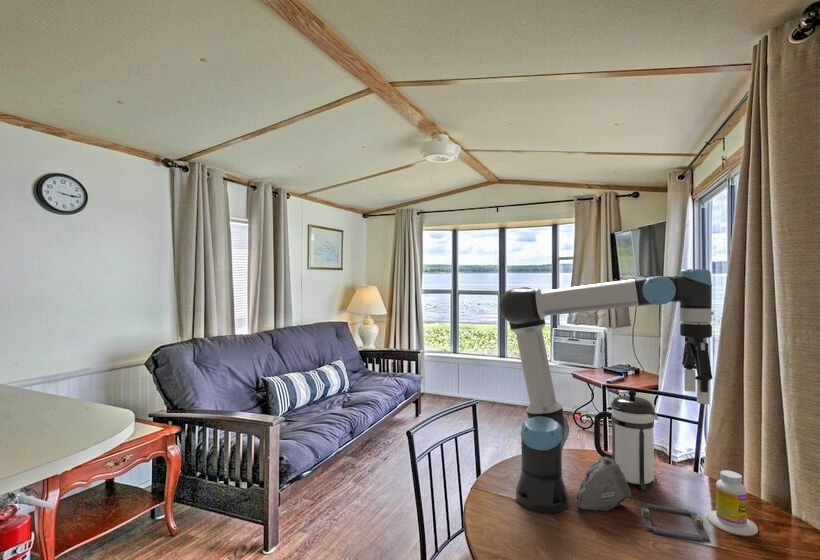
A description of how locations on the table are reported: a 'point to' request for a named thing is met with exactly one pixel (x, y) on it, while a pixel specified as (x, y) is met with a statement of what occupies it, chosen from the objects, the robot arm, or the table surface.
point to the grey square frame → (696, 520)
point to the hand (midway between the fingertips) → (696, 397)
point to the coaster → (743, 531)
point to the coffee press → (631, 438)
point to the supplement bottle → (731, 499)
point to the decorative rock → (603, 486)
